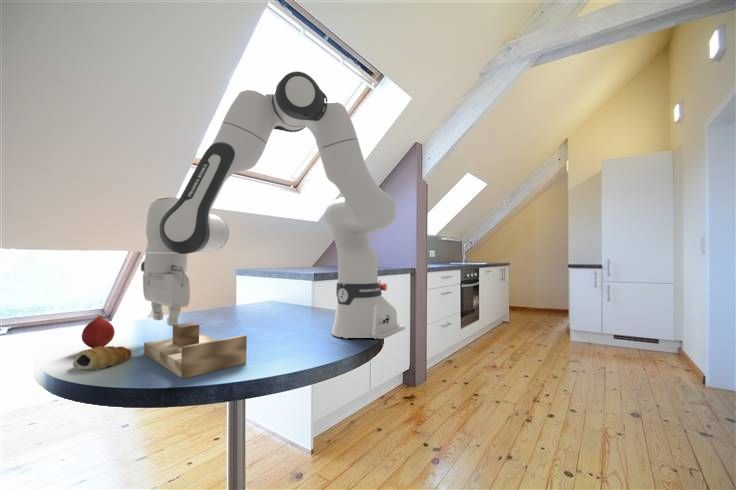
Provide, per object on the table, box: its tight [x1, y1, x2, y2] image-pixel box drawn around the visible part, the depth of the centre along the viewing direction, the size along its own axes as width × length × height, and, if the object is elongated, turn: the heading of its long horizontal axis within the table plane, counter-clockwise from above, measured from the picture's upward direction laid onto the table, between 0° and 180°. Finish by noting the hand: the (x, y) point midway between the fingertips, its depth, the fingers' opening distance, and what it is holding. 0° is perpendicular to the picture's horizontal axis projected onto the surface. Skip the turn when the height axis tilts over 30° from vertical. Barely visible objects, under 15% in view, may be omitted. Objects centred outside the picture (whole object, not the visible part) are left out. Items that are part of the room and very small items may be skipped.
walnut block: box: [172, 321, 200, 347], centre depth 75 cm, size 4×4×4 cm
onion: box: [81, 314, 116, 349], centre depth 78 cm, size 6×6×8 cm
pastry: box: [72, 345, 133, 371], centre depth 70 cm, size 9×7×4 cm
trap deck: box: [143, 333, 248, 380], centre depth 73 cm, size 12×22×6 cm, turn 48°
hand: (164, 322), depth 83 cm, fingers open, 8 cm apart
